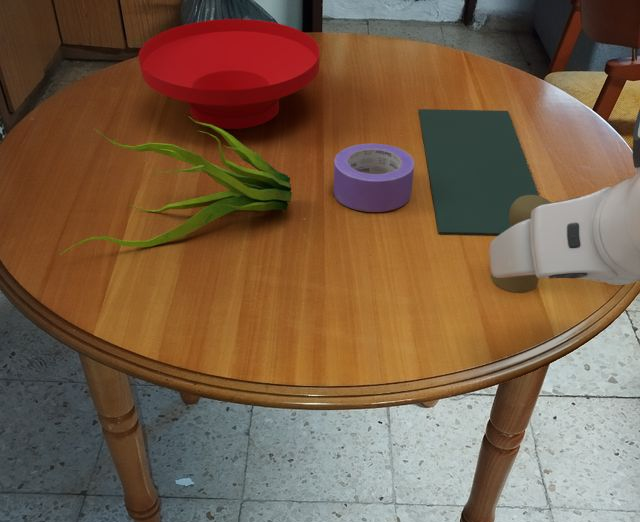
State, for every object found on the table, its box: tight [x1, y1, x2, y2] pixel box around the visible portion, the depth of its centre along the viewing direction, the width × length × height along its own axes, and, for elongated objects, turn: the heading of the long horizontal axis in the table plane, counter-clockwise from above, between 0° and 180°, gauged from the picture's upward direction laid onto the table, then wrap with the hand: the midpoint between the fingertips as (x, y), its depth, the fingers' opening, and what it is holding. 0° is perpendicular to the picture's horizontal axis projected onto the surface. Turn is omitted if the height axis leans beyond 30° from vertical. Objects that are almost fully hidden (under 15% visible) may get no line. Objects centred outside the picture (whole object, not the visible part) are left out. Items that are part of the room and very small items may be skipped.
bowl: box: [137, 18, 321, 130], centre depth 117 cm, size 30×30×10 cm
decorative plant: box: [58, 115, 293, 256], centre depth 89 cm, size 18×30×15 cm, turn 89°
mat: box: [418, 108, 540, 236], centre depth 108 cm, size 40×16×1 cm, turn 178°
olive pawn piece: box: [490, 195, 552, 293], centre depth 84 cm, size 6×6×11 cm
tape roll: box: [333, 143, 415, 213], centre depth 100 cm, size 12×12×5 cm
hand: (558, 262), depth 75 cm, fingers closed
